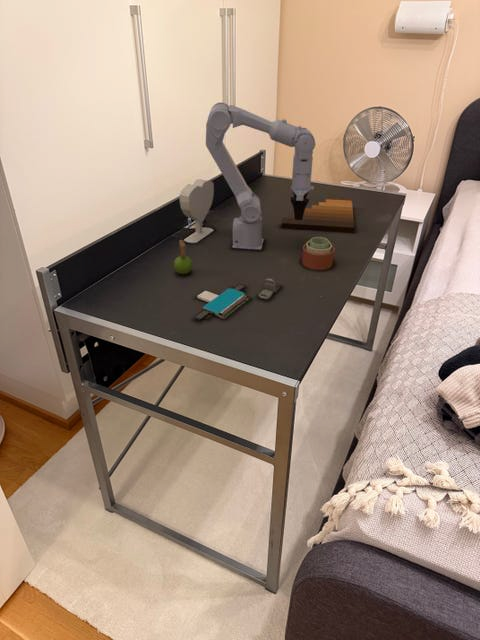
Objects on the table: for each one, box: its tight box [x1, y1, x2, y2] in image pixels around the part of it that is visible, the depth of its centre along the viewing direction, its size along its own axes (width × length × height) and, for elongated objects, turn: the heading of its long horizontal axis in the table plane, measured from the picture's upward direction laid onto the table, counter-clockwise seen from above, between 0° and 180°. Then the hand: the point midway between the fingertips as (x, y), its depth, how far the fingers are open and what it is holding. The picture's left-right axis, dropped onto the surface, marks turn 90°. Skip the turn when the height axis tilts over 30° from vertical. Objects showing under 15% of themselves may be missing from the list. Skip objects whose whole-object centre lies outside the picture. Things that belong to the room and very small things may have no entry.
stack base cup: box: [301, 243, 336, 271], centre depth 144 cm, size 10×10×5 cm
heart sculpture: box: [179, 179, 215, 244], centre depth 158 cm, size 16×5×18 cm, turn 152°
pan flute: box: [281, 198, 355, 233], centre depth 175 cm, size 25×3×25 cm
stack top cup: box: [305, 240, 333, 254], centre depth 144 cm, size 8×8×6 cm
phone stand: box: [195, 284, 250, 321], centre depth 126 cm, size 20×12×2 cm, turn 146°
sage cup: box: [309, 236, 330, 250], centre depth 144 cm, size 6×6×7 cm
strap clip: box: [258, 277, 281, 301], centre depth 130 cm, size 8×3×4 cm, turn 150°
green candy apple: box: [173, 239, 193, 275], centre depth 136 cm, size 5×6×12 cm
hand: (298, 215), depth 151 cm, fingers open, 7 cm apart
